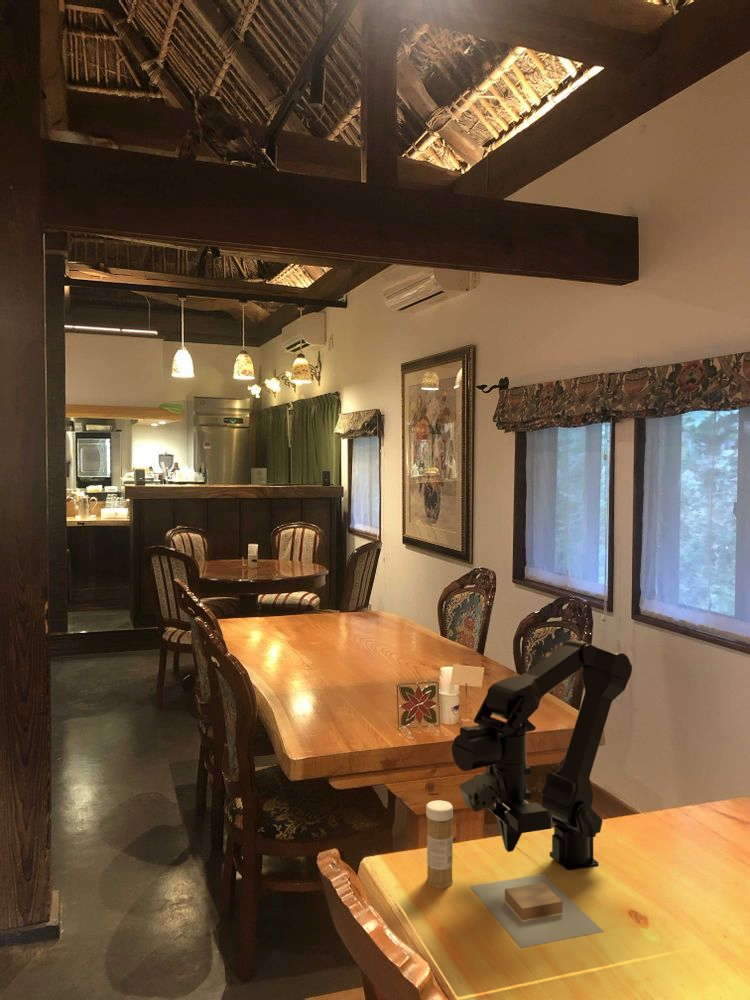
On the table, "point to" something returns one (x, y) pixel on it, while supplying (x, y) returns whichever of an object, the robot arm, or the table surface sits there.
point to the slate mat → (535, 930)
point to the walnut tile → (533, 901)
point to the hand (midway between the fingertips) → (509, 850)
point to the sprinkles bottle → (439, 844)
